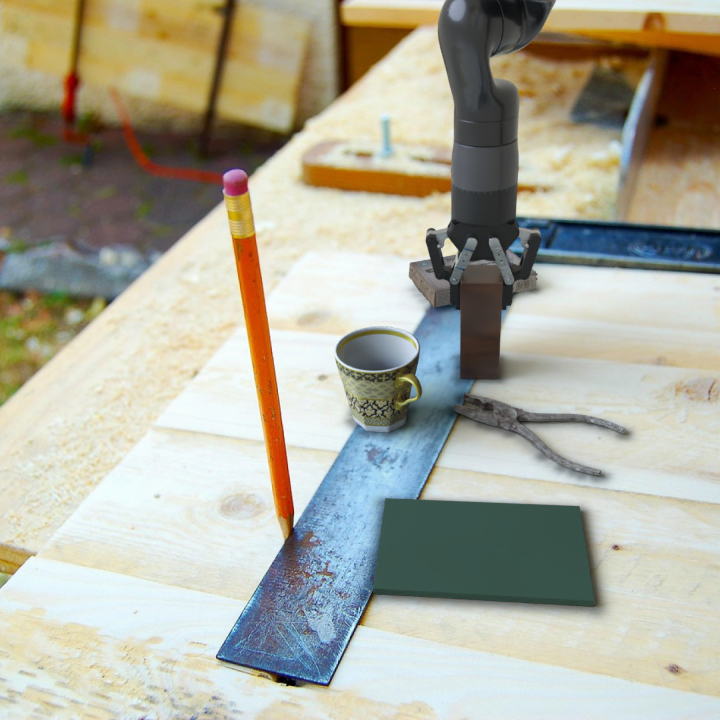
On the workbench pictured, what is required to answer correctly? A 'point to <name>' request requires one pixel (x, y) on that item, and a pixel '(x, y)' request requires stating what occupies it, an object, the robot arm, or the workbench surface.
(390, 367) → the ceramic cup
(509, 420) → the pliers
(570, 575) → the rubber mat
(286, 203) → the workbench surface
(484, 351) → the walnut block
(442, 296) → the box
